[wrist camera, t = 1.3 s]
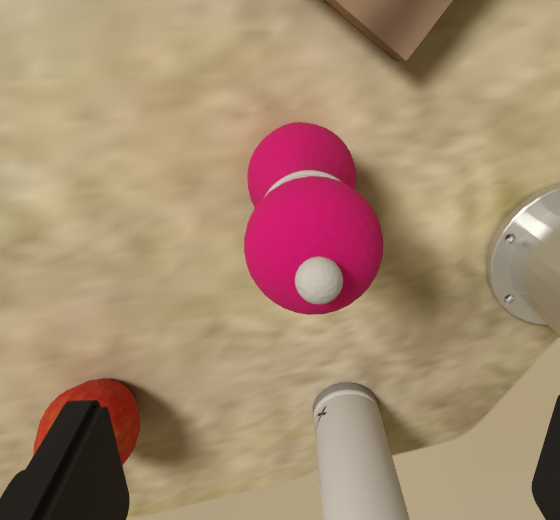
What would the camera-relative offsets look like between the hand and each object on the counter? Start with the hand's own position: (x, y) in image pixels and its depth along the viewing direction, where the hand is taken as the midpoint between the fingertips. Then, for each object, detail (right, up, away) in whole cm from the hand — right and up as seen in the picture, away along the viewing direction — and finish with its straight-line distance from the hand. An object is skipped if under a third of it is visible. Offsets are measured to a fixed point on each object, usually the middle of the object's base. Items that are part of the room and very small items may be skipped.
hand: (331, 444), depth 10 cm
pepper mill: (0, +11, +25) cm, 27 cm away
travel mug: (+5, -10, +35) cm, 37 cm away
